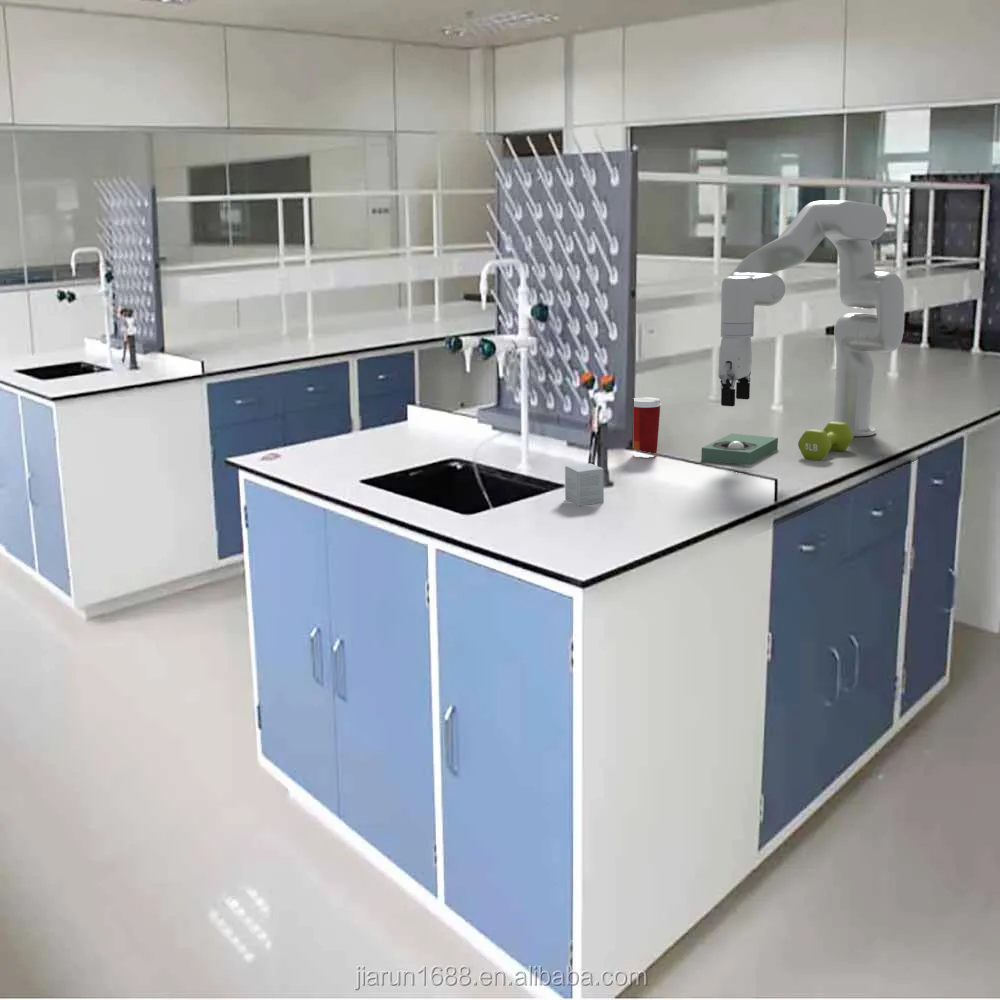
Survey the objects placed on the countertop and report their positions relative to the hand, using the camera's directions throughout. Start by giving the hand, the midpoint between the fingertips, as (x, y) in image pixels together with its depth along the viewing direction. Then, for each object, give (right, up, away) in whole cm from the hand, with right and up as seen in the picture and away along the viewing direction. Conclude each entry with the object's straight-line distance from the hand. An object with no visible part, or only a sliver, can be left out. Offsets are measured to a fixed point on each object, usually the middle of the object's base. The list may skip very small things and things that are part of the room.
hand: (735, 402), depth 252 cm
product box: (-39, -24, -33) cm, 56 cm away
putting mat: (+3, -12, +8) cm, 15 cm away
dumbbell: (+23, -12, +6) cm, 27 cm away
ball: (+1, -11, +5) cm, 12 cm away
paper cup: (-20, -13, +8) cm, 26 cm away
